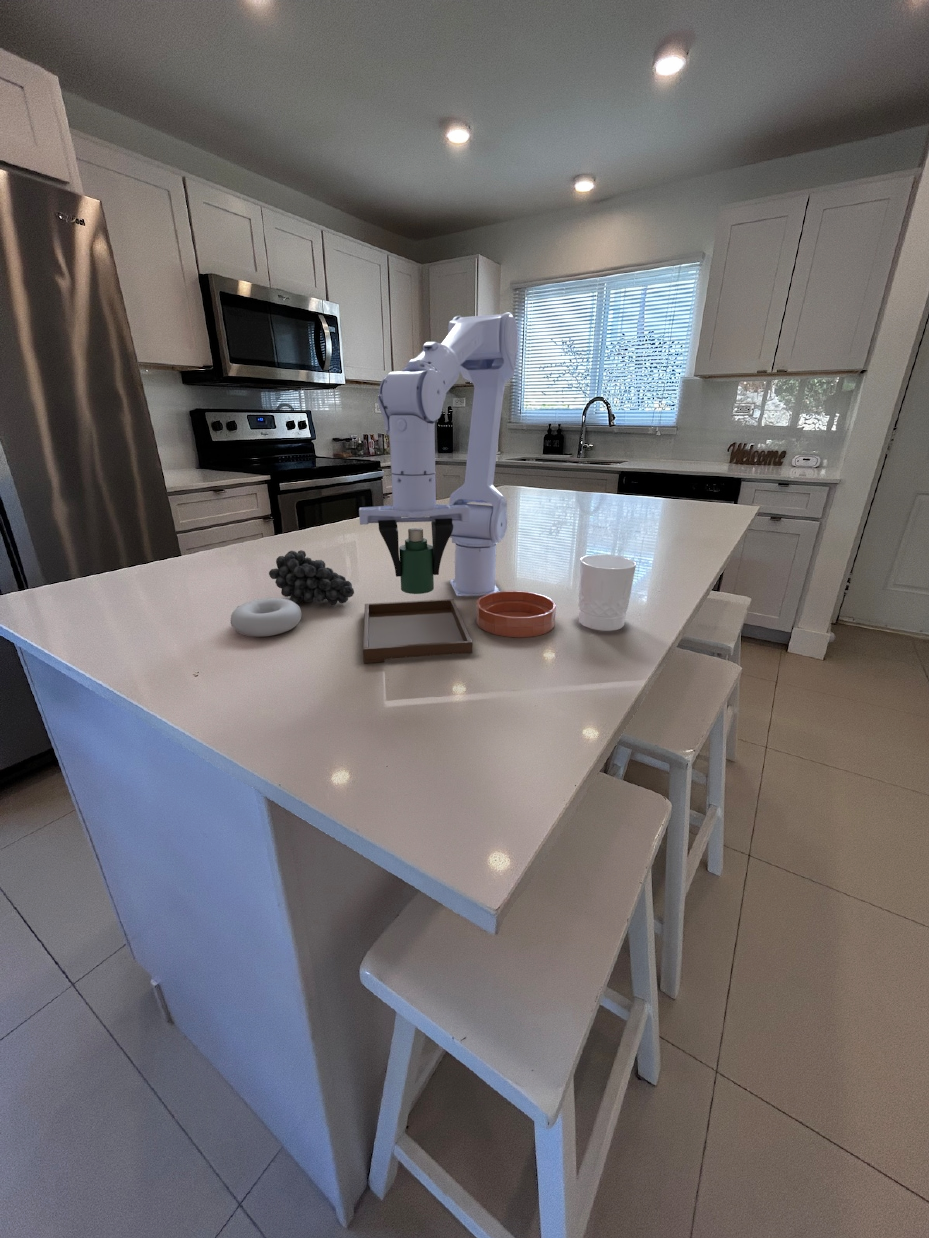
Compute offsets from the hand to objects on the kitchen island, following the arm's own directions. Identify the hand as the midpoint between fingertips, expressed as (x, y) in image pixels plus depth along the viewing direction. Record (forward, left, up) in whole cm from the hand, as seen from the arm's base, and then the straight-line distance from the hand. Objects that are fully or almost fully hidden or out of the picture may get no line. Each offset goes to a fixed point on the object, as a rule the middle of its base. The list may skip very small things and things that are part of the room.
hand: (416, 573), depth 71 cm
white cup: (+1, +28, -9) cm, 29 cm away
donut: (-6, -22, -9) cm, 25 cm away
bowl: (-1, +15, -9) cm, 17 cm away
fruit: (-16, -16, -9) cm, 25 cm away
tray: (0, -1, -9) cm, 9 cm away
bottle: (0, 0, -2) cm, 2 cm away
